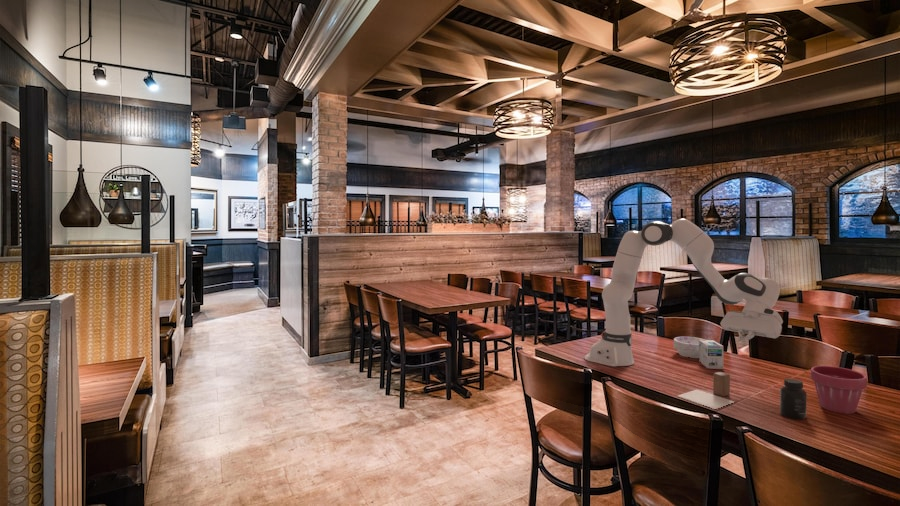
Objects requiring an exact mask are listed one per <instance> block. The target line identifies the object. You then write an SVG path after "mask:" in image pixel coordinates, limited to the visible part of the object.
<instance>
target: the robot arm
mask: <svg viewBox="0 0 900 506" xmlns="http://www.w3.org/2000/svg"><path fill="white" fill-rule="evenodd" d="M667 242H672V243H673V242H674V243H675V244H676V245H677V246H679V247H680V249H682V250H683V251H684V252H685V253H686V255H687V256H688V258H689V259H690V261H691V263H692V265H693V267H694V268H695V270H696V271H697V272H698V273H699V274H700V276H701V277H703V279H704V280H705V281H706V282H707V283H708V285H709V286H710V287H711V289H712V290H713V291H714V294H715V296H716V297H717V299H718V300H719V301H721V302H722V303H723V304H725V305H730V306H733V305H734V306H735V305H737V304H738V303H741V302H742V301H743V300H745V302H746V303H745V304H744V307H743V309H742V310H738V311H737V310H730V311H727V312H726V314H725V315H724V317H723V318H722V319H721V321H720V323H719V324H720V327H721V328H722V329H723V330H724V331H731V332H735V333H738V337H737V340H738V342H741V343H746V344H747V343H748V342H749V341H750V340H752V339H753V338H755V336H757V337H758V336H759V337H764V338H765V337H766V338H771V339H777V338H778V337H780V335H781V333H782V329H783V326H782V324H783V323H784V320H783V318H782V317H781V314H779V312H778V311H777V310H774V309H773V308H774V306H775V305H776V304H777V301H778V299H779V297H780V292H781V289H780V288H781V287H780V285H779V283H778V282H777V280H776V281H775V280H774V279H772V278H769V277H759V276H758V277H757V276H754V275H753V274H750V273H748V272H740V273H738V274H736V275H734V276H732V277H731V278H729V279H725V277H723V275H722V274H721V273H720V272H719V271H718V270H717V269H716V268H715V266H714V264H713V263H712V257H713V253H714V251H715V244H714V241H713V239H712V238H711V237H710V236H709V235H708V234H707V233H706V232H705V231H704V230H703V229H701V228H700V227H699V226H697V225H696V224H695V223H693V222H692V221H691V220H689V219H687V218H679V219H678V218H677V219H676V220H674V221H673V222H671V223H670V224H668V223H666V222H664V221H661V220H653V221H650V222H647V223H646V224H645V225H643V227H642V229H641V230H640V231H639V230H629V231H626V232H625V233H624V234H623V236H622V239H621V240H620V243H619V245H618V248H617V252H616V253H615V254H616V255H615V258H614V262H613V265H612V271H611V272H612V273H611V278H610V283H608V284H606V285H605V286H604V288H603V290H602V292H601V299H602V301H603V308H604V314H605V330H603V332H602V333H600V337H601V338H600V339H599V340H598V341H596V342H595V343H593V344H592V345H591V346H590V349H589V353H587V354H586V355H585V356H584V360H585V361H588V362H592V363H595V364H600V365H604V366H608V367H627V366H632V365H634V364H635V359H634V356H633V350H632V343H633V339H632V338H633V337H632V336H633V335H632V332H631V314H630V311H629V310H630V309H629V308H630V307H629V300H630V299H631V298H632V297H633V293H634V289H635V285H636V281H637V275H638V272H639V269H640V268H639V267H640V265H641V262H642V258H643V256H644V255H643V254H644V251H645V250H646V247H648V246H656V247H657V246H661V245H663V244H666V243H667ZM745 334H747V335H745Z"/></svg>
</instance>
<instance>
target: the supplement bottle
mask: <svg viewBox="0 0 900 506" xmlns="http://www.w3.org/2000/svg"><path fill="white" fill-rule="evenodd" d="M783 381H784V383H783V385H784V386H782V387H780V391H779V394H780V395H779V403H780V404H779V412H780V414H781V415H782V416H784V417H785V418H787V417H788V419H791V420H796V419H797V421H802V420H805V419H806V418H807V391H805V390H804V382H803V381H802V380H800V379H796V378H784V379H783Z"/></svg>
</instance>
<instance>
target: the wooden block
mask: <svg viewBox="0 0 900 506" xmlns="http://www.w3.org/2000/svg"><path fill="white" fill-rule="evenodd" d="M712 375H713V376H712V377H713V378H712V379H713V380H712V382H713V385H712V386H713V387H712V389H713V393H712V394H713V395H716V396H719V397H722V398H724V397H727V395H728V396H730V390H731V389H730V388H731V387H730V386H731V383H730V382H731V380H730V379H731V375H730V374H729V373H725V372H722V371H718V372H714V373H713V374H712Z"/></svg>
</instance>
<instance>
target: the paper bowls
mask: <svg viewBox="0 0 900 506" xmlns="http://www.w3.org/2000/svg"><path fill="white" fill-rule="evenodd" d="M699 340H705V338H700V337H695V336H676V337H674V338H673V350H675V351H677V353H678V354H679V355H680V356H681V357H684V358H688V357H690V358H689V359H699Z"/></svg>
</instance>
